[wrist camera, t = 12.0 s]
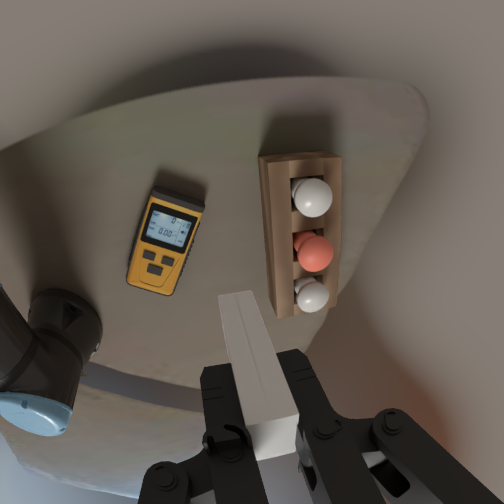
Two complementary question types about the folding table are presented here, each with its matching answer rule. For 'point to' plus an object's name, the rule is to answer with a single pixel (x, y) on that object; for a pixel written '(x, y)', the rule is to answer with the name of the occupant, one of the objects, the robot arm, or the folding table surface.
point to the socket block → (298, 224)
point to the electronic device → (163, 241)
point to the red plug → (312, 250)
